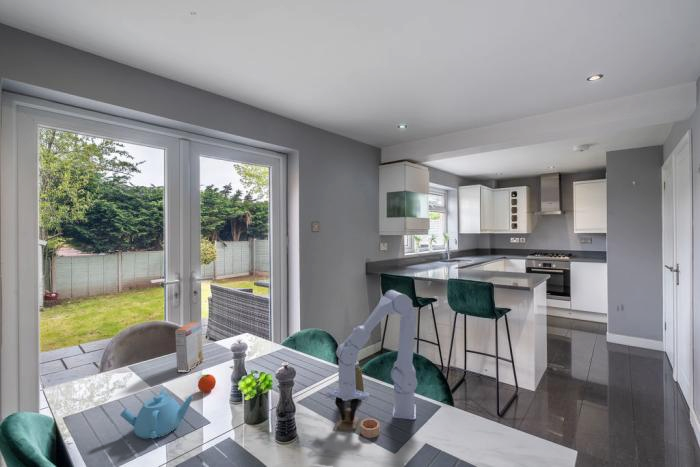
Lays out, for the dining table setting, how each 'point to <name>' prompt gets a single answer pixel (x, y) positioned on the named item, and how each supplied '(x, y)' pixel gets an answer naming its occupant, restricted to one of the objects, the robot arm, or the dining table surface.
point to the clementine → (206, 383)
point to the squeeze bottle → (358, 378)
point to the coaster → (347, 430)
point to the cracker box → (189, 345)
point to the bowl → (370, 428)
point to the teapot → (157, 416)
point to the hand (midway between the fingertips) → (348, 419)
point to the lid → (348, 421)
